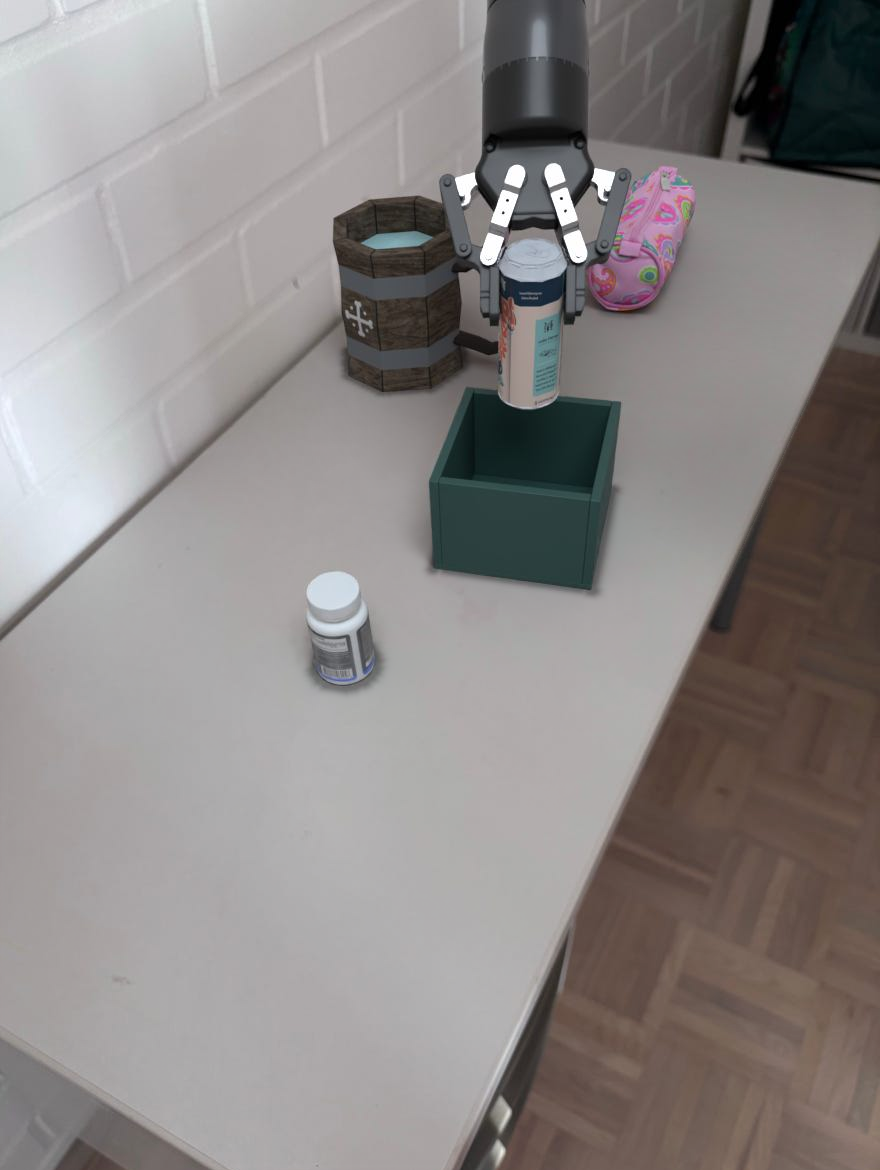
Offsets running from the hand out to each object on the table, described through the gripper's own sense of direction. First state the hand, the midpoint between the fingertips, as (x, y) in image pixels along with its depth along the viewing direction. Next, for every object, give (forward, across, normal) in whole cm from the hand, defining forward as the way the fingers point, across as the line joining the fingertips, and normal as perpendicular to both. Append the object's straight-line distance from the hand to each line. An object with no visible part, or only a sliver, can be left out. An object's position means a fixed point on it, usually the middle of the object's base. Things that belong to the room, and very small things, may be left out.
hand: (532, 321), depth 71 cm
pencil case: (-19, +14, +50) cm, 55 cm away
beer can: (+4, 0, +7) cm, 8 cm away
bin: (+14, 0, +16) cm, 21 cm away
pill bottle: (+25, -14, +5) cm, 30 cm away
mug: (-5, -10, +36) cm, 38 cm away
